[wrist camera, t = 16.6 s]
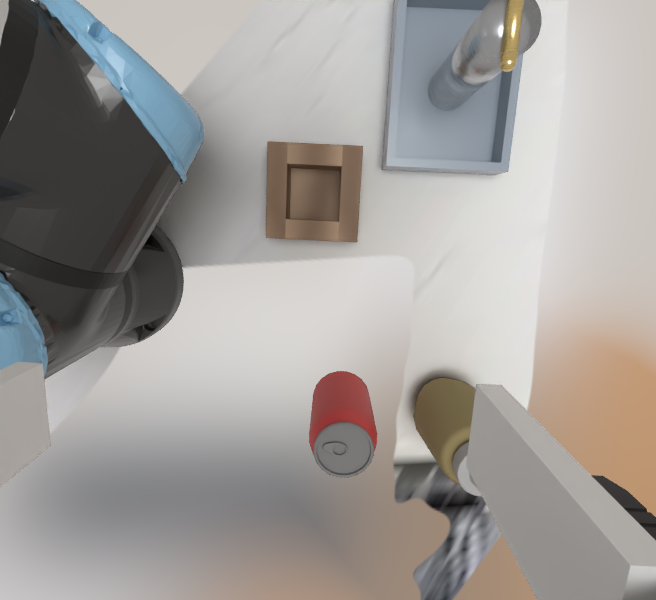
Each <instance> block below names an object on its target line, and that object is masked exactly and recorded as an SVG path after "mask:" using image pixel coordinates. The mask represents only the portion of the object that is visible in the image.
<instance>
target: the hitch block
mask: <svg viewBox="0 0 656 600" xmlns="http://www.w3.org/2000/svg"><path fill="white" fill-rule="evenodd" d="M362 154H363V146H351V145H330V144H309V143H288V142H268V147H267V206H266V238H280V239H301V240H322V241H343V242H357V236H358V220H359V203H360V187H361V171H362Z"/></svg>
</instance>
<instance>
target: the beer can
mask: <svg viewBox="0 0 656 600" xmlns="http://www.w3.org/2000/svg"><path fill="white" fill-rule="evenodd" d="M309 443H310V446H311V449H312V452H313V454H314V457H315V460H316V462H317V464H318V465H319V466H320V468H321V469H322V470H323V471H325V472H327V473H328V474H329V475H333V476H336V477H351V476H355V475H358V474H359V473H361V472H362V471H364V470H365V469H366V468H367V467H368V466H369V464H370V463H371V461H372V458H373V455H374V450H375V448H376V444H377V431H376V426H375V422H374V416H373V412H372V407H371V402H370V397H369V393H368V390H367V386H366V385H365V383H364V382H363V381H362V379H360V378H359V377H357V376H356V375H354V374H352V373H349V372H344V371H343V372H342V371H340V372H339V371H337V372H333V373H330V374H328V375H326V376H325V377H323V378H322V379H321V380H320V381H319V383H318V384H317V385H316V388H315V390H314V394H313V403H312V413H311V423H310V432H309Z"/></svg>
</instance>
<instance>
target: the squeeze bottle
mask: <svg viewBox="0 0 656 600" xmlns="http://www.w3.org/2000/svg"><path fill="white" fill-rule="evenodd" d="M475 391H476V389H475V388H474V387H472V386H470V385H468V384H467V383H465V382H462V381H458V380H454V379H449V378H438V379H434V380H431V381H430V382H428V383H427V384H425V385H424V386H423V388H422V389H421V391H420V392H419V394H418V398H417V401H416V405H415V410H414V415H413V417H414V421H415V425H416V429H417V431H418V432H419V434H420V436H421V437H422V439H423V440H424V442H425V444H426V445H427V447H428V448H429V450H430V452H431V453H432V455H433V456H434V458H435V460H436V461H437V463H438V465H439V466H440V468H441V469H442V471H443V472H444V473H445V475H446V476H447V477H448V478H449V479H450V480H452V481H453V482H455V483H457V484H459V485H461V486H462V488H463V489H464V490H465V491H467V492H468V493H470V494H472V495H476V496H482V495H481V493H480V491H479V489H478V488H477V486H476V484H475V482H474V480H473V478H472V476H471V474H470V472H469V471H468V469H467V467H466V462H467V454H468V446H469V438H470V430H471V422H472V415H473V407H474V399H475Z"/></svg>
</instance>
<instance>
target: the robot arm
mask: <svg viewBox="0 0 656 600" xmlns="http://www.w3.org/2000/svg"><path fill="white" fill-rule="evenodd" d="M34 1H35V2H33V1H31V0H0V487H1V486H2V485H3V484H5V483H6V482H7V481H8V480H10V479H11V478H12V477H13V476H15V475H16V474H17V473H18V472H19V471H21V470H22V469H23V468H24V467H26V466H27V465H28V464H29V463H30V462H31V461H33V460H34V459H35V458H37V457H38V456H39V455H40V454H41V453H43V452H44V451H45V450H46V449H47V448H49V447H50V446H51V444H50V433H49V423H48V413H47V402H46V392H45V381H44V379H46V378H48V377H49V376H51V375H53V374H54V373H56V372H58V371H60V370H61V369H63V368H65V367H66V366H68V365H70V364H72V363H73V362H75V361H77V360H78V359H80V358H82V357H83V356H85V355H87V354H89V353H90V352H92V351H94V350H95V349H97V348H99V347H121V346H127V345H131V344H135V343H138V342H140V341H142V340H145V339H147V338H148V337H150V336H152V335H153V334H155V333H156V332H158V331H159V330H161V329H162V328H163V327H164V326H165V325H166V324H167V323H168V322H169V321H170V320H171V319H172V317H173V316H174V314H175V312H176V311H177V308H178V307H179V304H180V301H181V297H182V293H183V283H184V282H183V281H184V280H183V270H182V266H181V262H180V259H179V256H178V254H177V252H176V250H175V248H174V246H173V245H172V243H171V242H170V240H169V239H168V237H167V236H166V235H165V234H164V233H163V232H162V231H161V230H160V229H159V228H158V227H157V226H156V224H157V222H158V221H159V219H160V217H161V216H162V214H163V212H164V211H165V209H166V207H167V206H168V204H169V202H170V200H171V199H172V197H173V195H174V194H175V192H176V190H177V189H178V187H179V185H180V184H181V183H182V184H184V182H185V181H186V179H187V176H186V173H187V171H188V169H189V167H190V165H191V164H192V162H193V160H194V158H195V156H196V154H197V152H198V150H199V148H200V147H201V144H202V141H203V136H204V131H203V126H202V122H201V120H200V118H199V116H198V115H197V113H196V112H195V110H194V109H193V108H192V107H191V105H190V104H189V103H188V102H187V101H186V100H185V99H184V98H183V97H182V96H181V95H180V94H179V93H178V92H177V91H176V90H175V89H174V88H173V87H172V86H171V85H170V84H169V83H168V82H167V81H166V80H165V79H164V78H163V77H162V76H161V75H160V74H159V73H158V72H157V71H156V70H155V69H154V68H153V67H152V66H150V65H149V64H148V63H147V62H146V61H145V60H144V59H143V58H142V57H141V56H140V55H139V54H138V53H136V52H135V51H134V50H133V49H132V48H131V47H130V46H128V45H127V44H126V43H125V42H124V41H123V40H122V39H121V38H119V37H118V36H117V35H115V34H113V33H112V32H110V31H109V29H108V28H107V27H106V26H105V25H104V24H102V23H101V22H100V21H99V20H97V19H96V18H95V17H94V15H92V14H91V12H89V11H88V10H87V9H86V8H85V7H83V6H82V5H81V4H80V3H78V2H77V1H76V0H34ZM466 467H467V469H468V471H469V472H470V474H471V476H472V478H473V480H474V482H475V484H476V486H477V488H478V489H479V491H480V493H481V495H482V497H483V499H484V501H485V503H486V504H487V506H488V508H489V510H490V512H491V514H492V516H493V518H494V520H495V521H496V523H497V525H498V527H499V529H500V531H501V533H502V535H503V536H504V538H505V540H506V542H507V544H508V546H509V548H510V550H511V552H512V553H513V555H514V557H515V559H516V561H517V563H518V565H519V566H520V568H521V570H522V572H523V574H524V576H525V578H526V580H527V582H528V584H529V585H530V587H531V589H532V591H533V593H534V595H535V596H536V599H537V600H656V517H655V516H654V515H652V514H651V513H648V512H647V509H646V508H645V507H644V506H643V505H642V504H640V502H638V500H636V499H635V498H634V497H633V496H632V495H631V494H630V493H629V492H628V491H626V490H625V489H623V488H622V487H620V486H618V485H617V484H615V483H613V482H612V481H610V480H608V479H607V478H605V477H603V476H592V475H590V474H589V473H588V472H587V471H586V470H585V469H584V468H583V467H582V466H581V465H580V464H579V463H578V462H577V461H576V460H575V459H574V458H573V457H572V456H571V455H570V454H569V453H568V452H567V451H566V450H565V449H564V448H563V447H562V446H561V445H560V444H559V443H558V441H557V440H556V439H554V437H553V436H551V434H550V433H548V431H547V430H546V429H545V428H544V427H543V426H542V425H541V424H539V422H538V421H537V420H536V419H534V417H533V416H532V415H531V414H530V413H529V412H528V411H527V410H526V409H525V408H524V407H523V406H522V405H521V404H520V403H519V402H518V401H517V400H516V399H515V398H514V397H513V396H512V395H511V394H510V393H509V392H508V391H507V390H506V389H505V388H504V387H503V386H502V385H487V384H476V391H475V399H474V407H473V415H472V422H471V430H470V438H469V446H468V454H467V462H466Z"/></svg>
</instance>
